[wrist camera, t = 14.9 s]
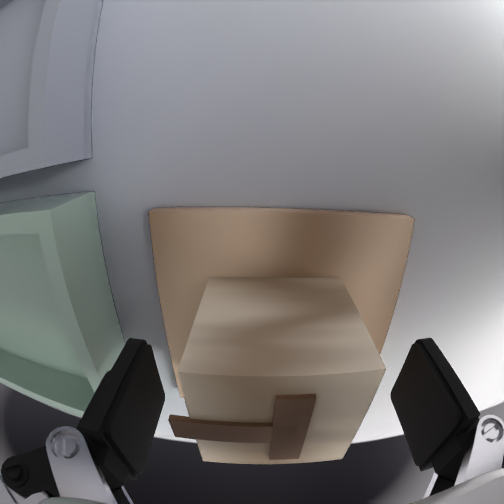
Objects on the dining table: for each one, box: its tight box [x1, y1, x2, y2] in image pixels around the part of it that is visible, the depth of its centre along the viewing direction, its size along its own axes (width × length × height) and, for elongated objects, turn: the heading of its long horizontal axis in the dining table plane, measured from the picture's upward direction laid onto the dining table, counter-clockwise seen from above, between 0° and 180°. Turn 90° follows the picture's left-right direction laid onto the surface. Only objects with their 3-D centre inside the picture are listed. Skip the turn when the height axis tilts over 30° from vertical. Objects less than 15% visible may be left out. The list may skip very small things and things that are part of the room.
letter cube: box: [168, 276, 386, 464], centre depth 9 cm, size 6×5×5 cm
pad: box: [149, 207, 415, 398], centre depth 12 cm, size 10×10×1 cm
